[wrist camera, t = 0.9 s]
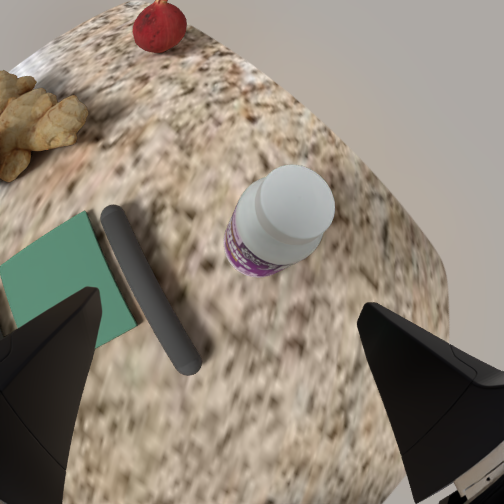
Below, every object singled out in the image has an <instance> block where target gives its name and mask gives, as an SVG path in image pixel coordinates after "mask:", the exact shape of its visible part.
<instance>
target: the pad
mask: <svg viewBox="0 0 504 504" xmlns="http://www.w3.org/2000/svg"><path fill="white" fill-rule="evenodd" d="M0 276H1V279H2V283H3V286H4V289H5V293H6V296H7V299H8V302H9V305H10V308H11V311H12V314H13V316H14V319H15V322H16V325H17V327H18V328H19V327H21V326H22V325H24V324H26V323H27V322H29V321H30V320H32V319H33V318H35V317H37V316H38V315H40V314H41V313H43V312H45V311H46V310H48V309H49V308H51V307H53V306H54V305H56V304H57V303H59V302H61V301H62V300H64V299H66V298H67V297H69V296H71V295H72V294H74V293H76V292H77V291H79V290H81V289H82V288H84V287H86V286H90V287H97V288H98V289H99V291H100V298H101V304H102V318H101V322H100V327H99V331H98V336H97V341H96V346H95V349H96V348H98V347H99V346H101V345H103V344H105V343H107V342H109V341H110V340H112V339H114V338H116V337H118V336H120V335H122V334H123V333H125V332H127V331H129V330H131V329H133V328H134V327H136V326H138V324H137V323H136V321H135V319H134V317H133V315H132V313H131V311H130V309H129V307H128V305H127V304H126V302H125V300H124V298H123V296H122V294H121V291H120V289H119V287H118V285H117V283H116V281H115V279H114V277H113V275H112V272H111V270H110V268H109V266H108V264H107V261H106V259H105V257H104V254H103V252H102V250H101V247H100V245H99V243H98V240H97V238H96V235H95V233H94V230H93V228H92V225H91V222H90V220H89V217H88V215H87V213H86V211H83V212H81V213H79V214H78V215H76V216H74V217H73V218H71V219H69V220H68V221H66V222H64V223H63V224H61V225H59V226H58V227H56V228H55V229H53V230H51V231H50V232H48V233H47V234H45V235H44V236H42V237H41V238H39V239H38V240H36V241H35V242H33V243H32V244H30V245H29V246H27V247H26V248H24V249H23V250H21V251H20V252H19V253H17V254H16V255H14V256H13V257H12V258H10V259H9V260H7V261H6V262H5V263H3V264H2V265H1V266H0Z"/></svg>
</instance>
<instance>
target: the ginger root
mask: <svg viewBox="0 0 504 504" xmlns="http://www.w3.org/2000/svg"><path fill="white" fill-rule="evenodd" d="M36 83H37V82H36V80H35V79H34V77H31V76H24V77H20V78H17V76H16V75H14V74H9V73H8V72H6V71H5V70H3V71H0V179H2V180H4V181H6V182H11V181H13V180H15V179H16V178H17V176H18V175H19V174H20V173H21V172H22V171H23V170H24V169H26V167H27V166H28V164H29V163H30V159H31V151H32V150H33V151H43V150H49V149H53V148H57V147H62V146H69V145H72V144H74V143H75V142H76V140H77V135H76V133H77V132H78V130H79V129H80V128H82V126H83V125H84V124H85V122H86V118H87V116H88V110H87V107H86V106H85V105H84V104H83V103H81V102H80V101H79V100H78V98H77V96H75V95H72V96H69V97H67V98H65V99H63V100H62V101H60V102H59V103H58V102H57V100H56V95H53V94H52V93H46V90H45V89H44V88H38V89H34V90H33V88H34V87H35V84H36Z"/></svg>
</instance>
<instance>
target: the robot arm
mask: <svg viewBox="0 0 504 504" xmlns="http://www.w3.org/2000/svg"><path fill="white" fill-rule="evenodd" d="M101 318H102V304H101V298H100V291H99V289H98V288H97V287H90V286H86V287H84V288H82V289H81V290H79V291H77V292H76V293H74V294H72V295H71V296H69V297H67V298H66V299H64V300H62V301H61V302H59V303H57V304H56V305H54V306H53V307H51V308H49V309H48V310H46V311H45V312H43V313H41V314H40V315H38V316H37V317H35V318H33V319H32V320H30V321H29V322H27V323H26V324H24V325H22V326H21V327H19V328H18V329H16V330H15V331H13V332H12V333H11V334H9V335H7V336H6V337H4V338H3V339H1V340H0V504H62V500H63V491H64V483H65V476H66V468H67V462H68V456H69V451H70V445H71V440H72V436H73V431H74V426H75V422H76V418H77V413H78V409H79V405H80V401H81V397H82V394H83V390H84V386H85V383H86V379H87V376H88V372H89V369H90V366H91V362H92V359H93V355H94V351H95V346H96V341H97V336H98V331H99V327H100V322H101ZM357 328H358V331H359V334H360V338H361V341H362V345H363V348H364V352H365V355H366V359H367V362H368V364H369V367H370V370H371V372H372V375H373V377H374V380H375V382H376V385H377V388H378V390H379V393H380V396H381V398H382V401H383V404H384V407H385V409H386V412H387V415H388V418H389V421H390V424H391V427H392V430H393V432H394V435H395V438H396V441H397V444H398V448H399V451H400V454H401V456H402V461H403V464H404V467H405V470H406V474H407V477H408V480H409V484H410V488H411V491H412V495H413V499H414V502H415V503H416V504H417V503H419V502H421V501H423V500H425V499H427V498H428V497H430V496H432V495H434V494H435V493H437V492H439V491H440V490H442V489H444V488H445V487H447V486H449V485H450V484H452V483H453V482H454V484H455V486H456V488H457V490H456V491H455V492H453V493H452V494H450V495H449V496H447V497H445V498H444V499H442V500H441V501H439V504H504V371H501V370H498V369H496V368H494V367H492V366H490V365H488V364H486V363H484V362H482V361H480V360H478V359H476V358H475V357H472V356H471V355H469V354H467V353H465V352H463V351H461V350H460V349H458V348H456V347H454V346H453V345H451V344H450V345H449V343H447V342H446V341H444V340H442V339H440V338H439V337H437V336H435V335H433V334H432V333H430V332H428V331H426V330H424V329H423V328H421V327H419V326H417V325H416V324H414V323H412V322H410V321H408V320H407V319H405V318H403V317H401V316H400V315H398V314H396V313H394V312H392V311H391V310H389V309H387V308H385V307H383V306H382V305H380V304H378V303H376V302H367V303H365V304H364V306H363V308H362V311H361V313H360V316H359V318H358V321H357Z"/></svg>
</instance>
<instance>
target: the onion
mask: <svg viewBox="0 0 504 504" xmlns="http://www.w3.org/2000/svg"><path fill="white" fill-rule="evenodd" d="M167 1H168V0H155V2H154V3H153V4H151V5H150V6H148V7H146V8H145V9H144V10H143V11H142V12H141V13H140V14H139V15H138V17H137V19H136V20H135V22H134V25H133V35H134V39H135V43H136V44H137V45H138V46H139V47H140V48H142V49H143V50H145V51H148V52H154V53H162V52H164V51H166V50H168V49H170V48H172V47H174V46H175V45H177V44H178V43H179V42H180V41H181V39H182V38H183V37H184V35H185V32H186V27H187V22H186V18H185V16H184V14H183V13H182V12H181V11H180V9H179V8H177V7H176V6H174V5H172V4H169V3H167Z"/></svg>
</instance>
